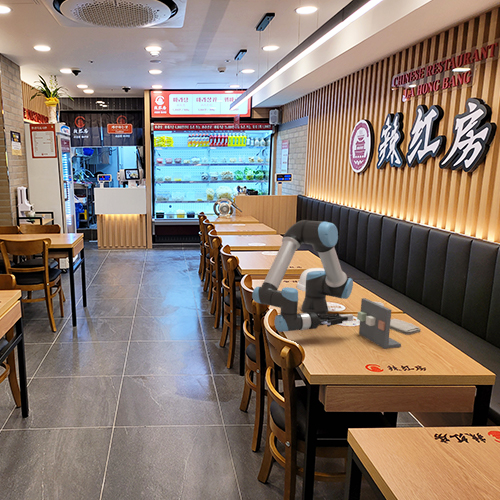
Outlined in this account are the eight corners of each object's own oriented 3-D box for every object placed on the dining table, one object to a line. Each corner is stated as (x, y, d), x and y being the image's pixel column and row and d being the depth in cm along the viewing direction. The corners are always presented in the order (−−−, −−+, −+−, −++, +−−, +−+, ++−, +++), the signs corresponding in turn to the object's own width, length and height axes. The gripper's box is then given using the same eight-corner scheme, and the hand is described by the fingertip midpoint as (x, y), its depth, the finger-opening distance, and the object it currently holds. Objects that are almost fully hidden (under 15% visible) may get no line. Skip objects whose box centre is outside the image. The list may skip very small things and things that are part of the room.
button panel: (358, 333, 216) (361, 298, 213) (374, 332, 219) (377, 297, 216) (384, 348, 197) (387, 310, 195) (400, 346, 200) (404, 308, 198)
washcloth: (407, 336, 216) (408, 330, 216) (378, 325, 231) (378, 320, 231) (422, 332, 223) (422, 326, 223) (392, 322, 238) (393, 317, 237)
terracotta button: (378, 328, 200) (378, 320, 200) (384, 327, 202) (385, 319, 201) (382, 330, 197) (383, 322, 196) (389, 329, 198) (390, 322, 198)
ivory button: (365, 323, 206) (366, 316, 206) (371, 322, 207) (372, 315, 207) (370, 325, 203) (370, 318, 202) (376, 325, 204) (377, 317, 203)
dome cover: (292, 283, 321) (293, 264, 319) (332, 283, 324) (333, 265, 322) (302, 294, 289) (303, 273, 287) (346, 294, 293) (347, 274, 290)
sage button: (357, 319, 213) (357, 311, 212) (363, 318, 214) (363, 311, 213) (361, 321, 209) (362, 314, 209) (367, 320, 211) (368, 313, 210)
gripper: (300, 324, 208) (344, 320, 216) (313, 333, 196) (359, 329, 204) (301, 309, 207) (345, 305, 215) (314, 317, 195) (360, 313, 203)
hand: (351, 317), depth 209 cm, fingers closed
